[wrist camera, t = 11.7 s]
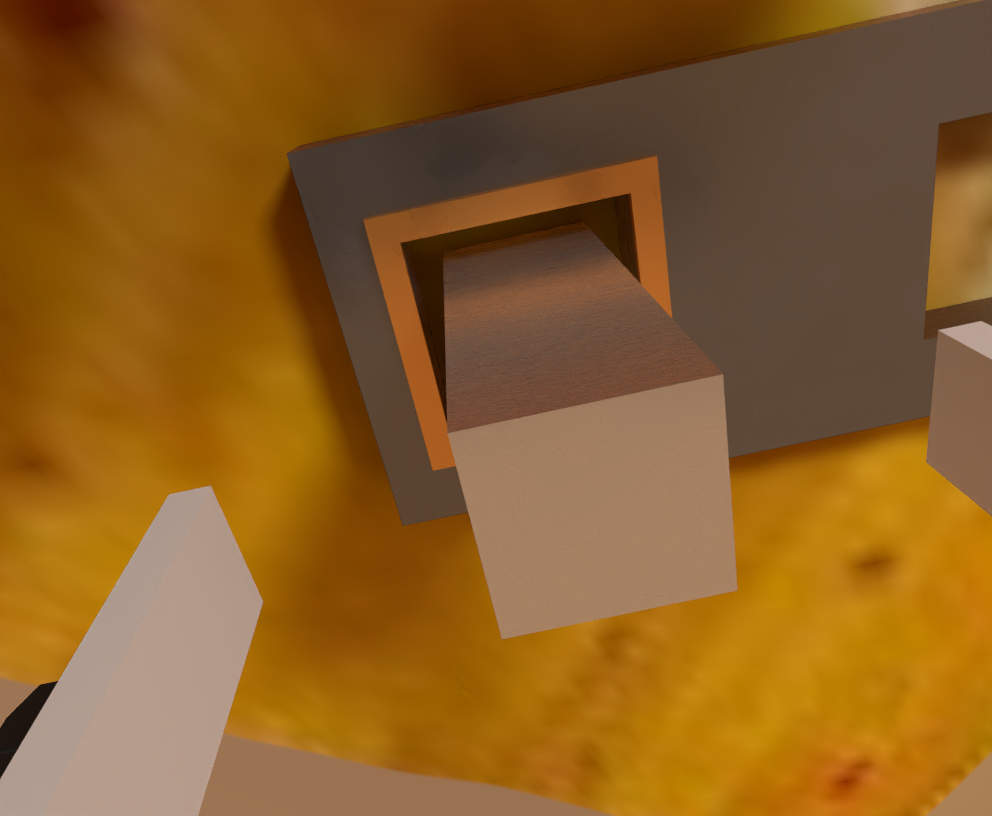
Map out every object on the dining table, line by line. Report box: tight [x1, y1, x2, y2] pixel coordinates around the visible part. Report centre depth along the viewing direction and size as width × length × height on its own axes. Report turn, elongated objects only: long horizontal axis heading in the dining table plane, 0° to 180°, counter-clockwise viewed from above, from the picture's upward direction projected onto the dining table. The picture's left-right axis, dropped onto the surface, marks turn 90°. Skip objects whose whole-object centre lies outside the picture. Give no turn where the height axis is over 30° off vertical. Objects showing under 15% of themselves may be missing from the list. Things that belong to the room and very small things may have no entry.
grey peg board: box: [287, 0, 992, 526], centre depth 22 cm, size 26×12×2 cm, turn 101°
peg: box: [443, 221, 737, 639], centre depth 18 cm, size 4×4×12 cm
